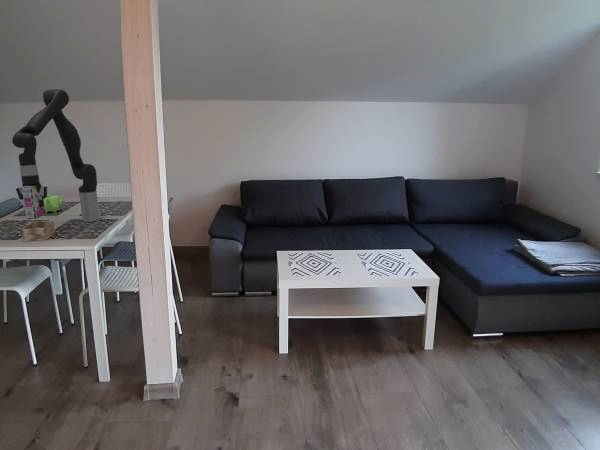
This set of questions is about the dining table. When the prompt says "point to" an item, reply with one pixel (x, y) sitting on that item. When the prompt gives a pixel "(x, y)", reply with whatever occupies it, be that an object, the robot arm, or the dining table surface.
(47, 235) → the crate
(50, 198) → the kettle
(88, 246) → the dining table surface
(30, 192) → the candy bar box
